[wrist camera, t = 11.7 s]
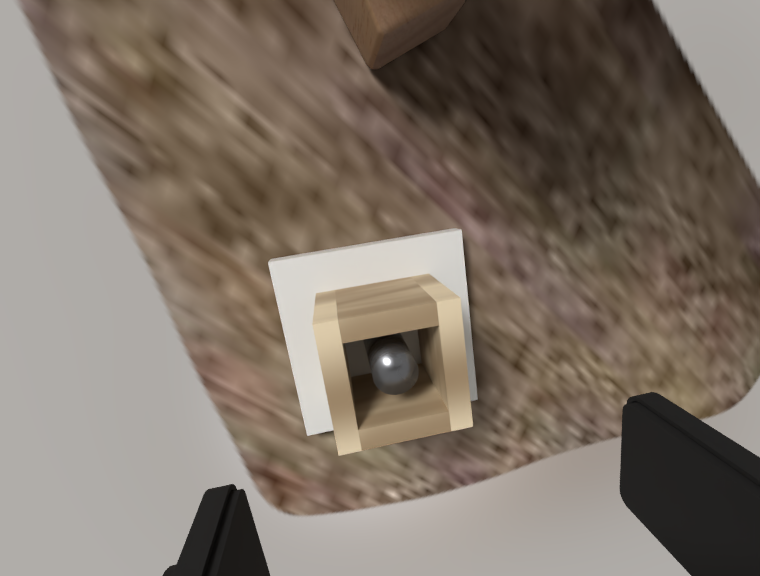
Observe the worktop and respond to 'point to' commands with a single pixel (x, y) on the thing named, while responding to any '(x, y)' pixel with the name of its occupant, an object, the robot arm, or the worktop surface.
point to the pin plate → (354, 274)
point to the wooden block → (394, 25)
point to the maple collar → (436, 372)
